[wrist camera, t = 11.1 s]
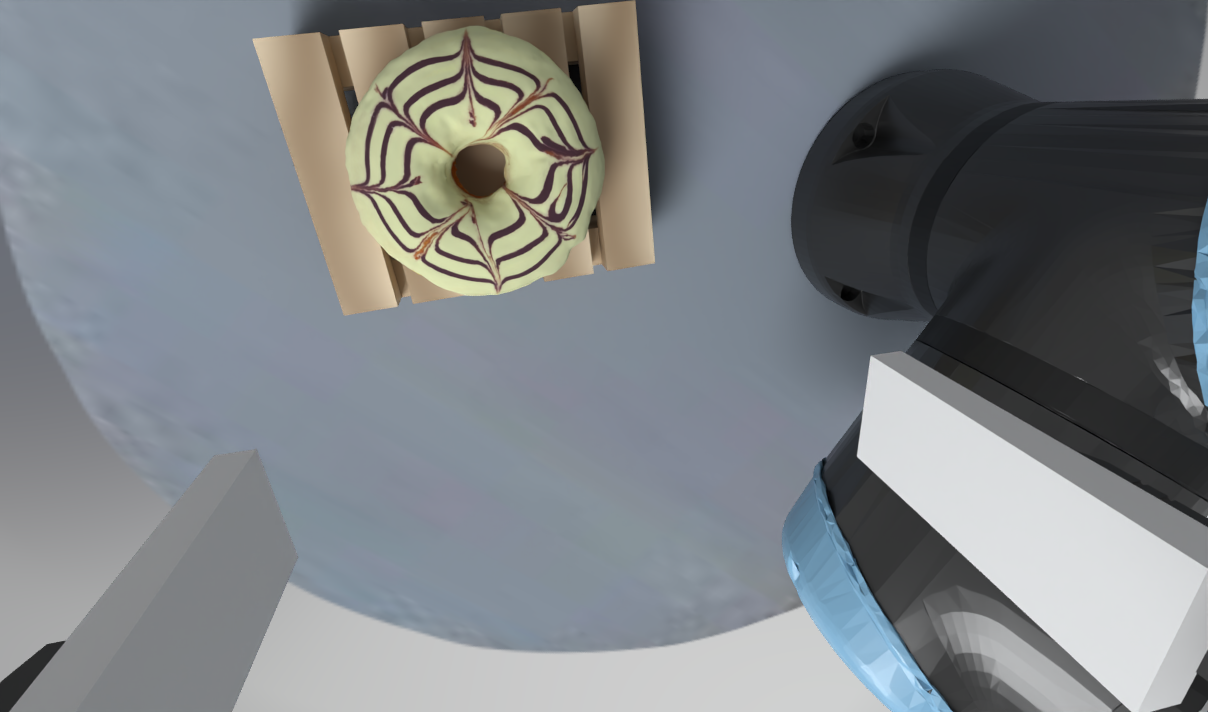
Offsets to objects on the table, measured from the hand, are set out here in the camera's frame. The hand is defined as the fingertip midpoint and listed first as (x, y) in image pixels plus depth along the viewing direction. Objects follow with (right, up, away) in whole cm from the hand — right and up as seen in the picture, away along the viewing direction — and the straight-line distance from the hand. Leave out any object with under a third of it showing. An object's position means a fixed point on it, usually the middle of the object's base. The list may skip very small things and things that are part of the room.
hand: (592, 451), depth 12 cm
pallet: (-6, +13, +18) cm, 23 cm away
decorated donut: (-6, +11, +14) cm, 19 cm away
